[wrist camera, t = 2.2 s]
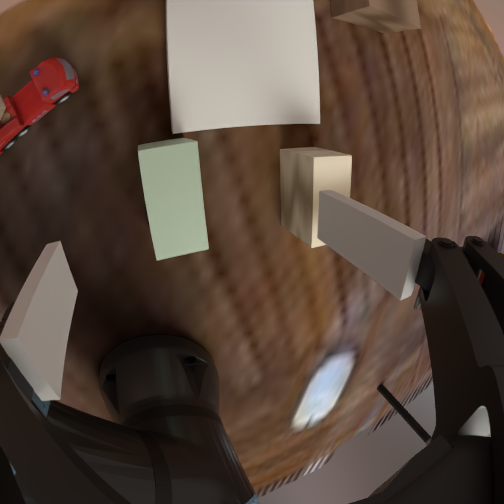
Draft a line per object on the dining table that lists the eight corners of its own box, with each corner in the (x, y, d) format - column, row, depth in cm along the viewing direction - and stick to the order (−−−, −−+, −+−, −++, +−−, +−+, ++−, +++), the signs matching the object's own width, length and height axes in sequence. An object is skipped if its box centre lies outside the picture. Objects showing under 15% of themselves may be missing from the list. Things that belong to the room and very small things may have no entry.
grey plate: (314, 123, 27) (320, 123, 26) (172, 133, 22) (173, 133, 22) (306, -7, 20) (311, -10, 19) (165, -18, 16) (167, -22, 15)
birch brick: (312, 218, 32) (346, 239, 27) (280, 225, 30) (311, 248, 25) (314, 146, 28) (351, 155, 23) (279, 148, 27) (313, 157, 22)
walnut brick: (380, 7, 23) (416, -1, 18) (383, 33, 25) (420, 28, 20) (328, -11, 20) (364, -26, 15) (331, 17, 22) (369, 6, 17)
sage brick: (193, 222, 27) (208, 249, 22) (151, 231, 26) (156, 260, 21) (183, 137, 23) (197, 141, 18) (137, 145, 22) (137, 150, 17)
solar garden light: (363, 386, 56) (443, 478, 31) (402, 360, 59) (481, 439, 34) (357, 410, 62) (423, 491, 37) (393, 387, 65) (459, 458, 40)
